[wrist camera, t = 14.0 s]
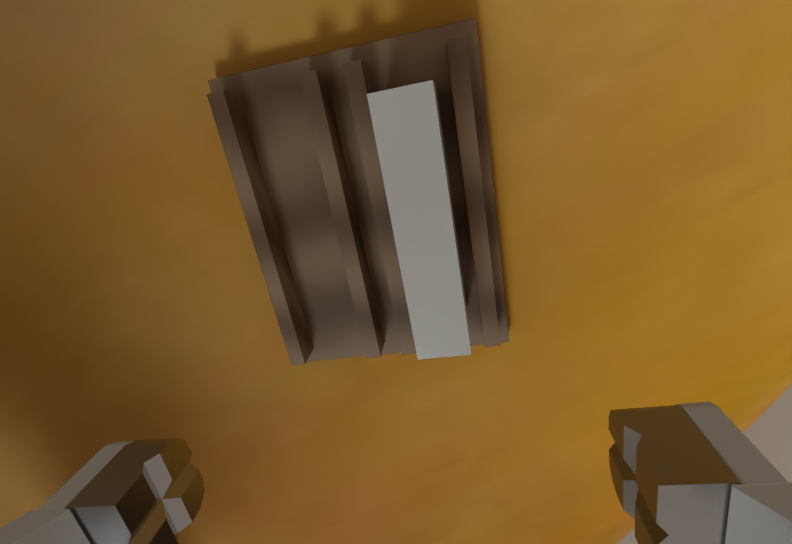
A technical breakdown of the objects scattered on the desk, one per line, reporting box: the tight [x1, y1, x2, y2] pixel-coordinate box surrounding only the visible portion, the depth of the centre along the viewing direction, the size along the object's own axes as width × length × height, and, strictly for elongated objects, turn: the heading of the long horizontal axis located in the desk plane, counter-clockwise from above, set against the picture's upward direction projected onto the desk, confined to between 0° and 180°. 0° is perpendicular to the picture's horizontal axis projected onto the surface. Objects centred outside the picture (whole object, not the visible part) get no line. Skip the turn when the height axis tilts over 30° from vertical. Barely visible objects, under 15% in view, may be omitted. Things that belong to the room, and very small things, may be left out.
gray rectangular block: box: [367, 80, 471, 360], centre depth 24 cm, size 14×3×6 cm, turn 11°
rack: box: [207, 18, 509, 365], centre depth 27 cm, size 20×16×3 cm
